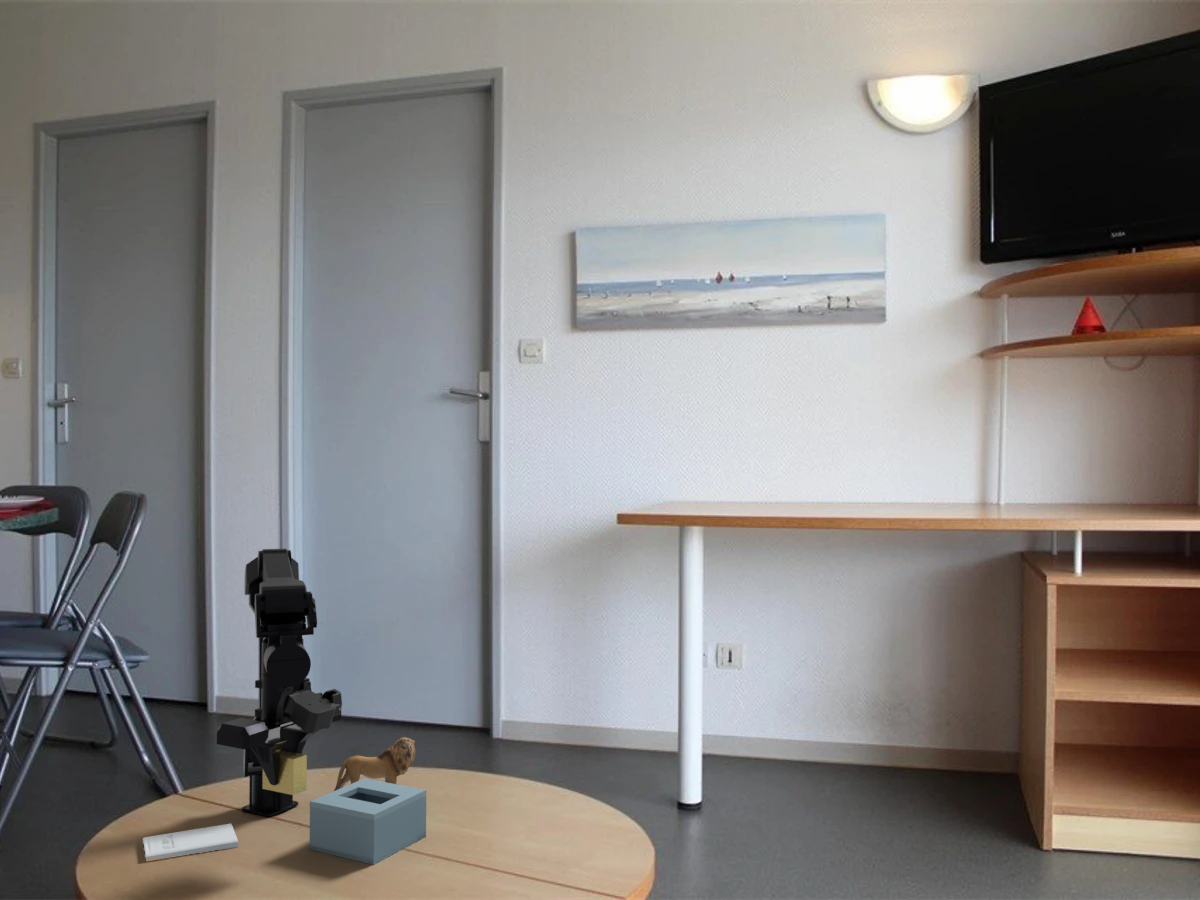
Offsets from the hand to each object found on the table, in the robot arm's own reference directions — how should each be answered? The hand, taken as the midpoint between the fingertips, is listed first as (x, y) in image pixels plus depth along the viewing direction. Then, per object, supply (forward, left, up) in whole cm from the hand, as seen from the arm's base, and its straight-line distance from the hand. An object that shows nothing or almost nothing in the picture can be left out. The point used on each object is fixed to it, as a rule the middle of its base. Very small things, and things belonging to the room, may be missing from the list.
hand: (281, 782), depth 141 cm
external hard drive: (-16, -2, -12) cm, 20 cm away
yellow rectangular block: (+1, 0, -1) cm, 1 cm away
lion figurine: (-7, +29, -11) cm, 32 cm away
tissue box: (+7, +11, -11) cm, 17 cm away
